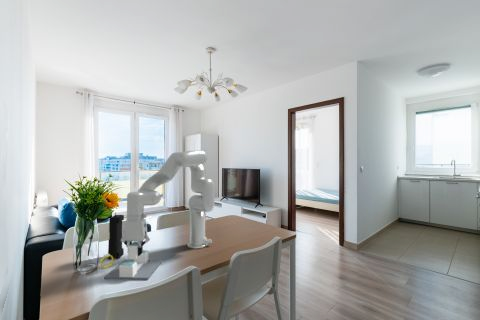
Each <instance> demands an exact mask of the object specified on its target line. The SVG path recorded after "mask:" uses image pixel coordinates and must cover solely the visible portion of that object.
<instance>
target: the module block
mask: <svg viewBox="0 0 480 320" xmlns="http://www.w3.org/2000/svg"><path fill="white" fill-rule="evenodd" d="M138 247H139V245H138V241H132V243H131V244H130V245H129V246H128V248H127V260H134V259H137V258H138V257H139V256H138Z"/></svg>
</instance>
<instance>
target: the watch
mask: <svg viewBox="0 0 480 320" xmlns="http://www.w3.org/2000/svg"><path fill="white" fill-rule="evenodd" d="M109 256H111V255H110V254H108V253H106V254H103V257H101V259H100V261H99V265H100V267H101V268H104V269H105V268H107V267H110V266H112V265H113V263H114V260H115V259H114V258H113V257H112V256H111V257H112V259H111V261H110V263H109V264H108V265H104V266H103V261H104V259H105V258H108V257H109Z"/></svg>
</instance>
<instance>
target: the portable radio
mask: <svg viewBox="0 0 480 320" xmlns="http://www.w3.org/2000/svg"><path fill="white" fill-rule="evenodd" d="M114 214H115V215H112V216H110V217H109V219H108V220H109V221H108V223H109V224H108V225H109V227H108V231H109V232H108V233H109V239H108V244H107V245H108V246H107V254H110V255H111V256H112V257H113V258H114V260H117V259H118V260H119V259H120V258H121V257H122V256H124V254H125V252H124V251H125V249H124V248H123V242H122V241H121V239H122V237H123V220H125V215H124V214H117V212H114ZM111 256H109V257H107V259H108V260H112V257H111Z"/></svg>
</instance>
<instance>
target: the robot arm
mask: <svg viewBox="0 0 480 320" xmlns="http://www.w3.org/2000/svg"><path fill="white" fill-rule="evenodd" d="M207 160H208V156H207V153H206V152H205V151H203V150H187V151H175V152H172V153H171V154H170V156H169V157H168V158H166V161H164V163H163V165H161V167H160V169H158V171H157V172H156V173H154V174H153V175H151V176H150V177H149V178H147V179H146V180H145V181H144V182H143V183H142V185H141V186H140V187H139V189H138V190H137V191H129V192H128V193H127V195H126V220H125V222H124V227H123V234H122V239H121V241H122V244H124V245H125V246H126V248H127V249H128V246H129V245H130V244H131V243H133V242H138V245H139V247H138V256H140V255H141V254H142V252H143V250H144V249H143V246H144V245H145V244H146V243H147V244H148V242H150V240H151V239H150V238H149V235H148V225H147V220H146V218H147V214H145V208H144V207H146V206H156V205H158V204H159V203H160V202H161V200H162V196H161V193H160V192H158V191H157V190H156V189H157V188H159V187H160V186H161V185H164V184H166V183H169V182H171V181H172V180H173V179H174V177H175V176H176V174H177V173H178V172H179V170H180V169H181V168H189V170H190V188H191V191H192V192H193V193H195V194H194V195H191V196H190V197H189V199H188V201H187V202H188V203H187V204H188V210H189V242H187V243H186V244H187V247H188V248H190V249H202V248H205V247H207V246H208V244H212V243H213V240H212V239H211V238H207V236H206V214H205V213H210V212H213V210H214V208H215V201H216V197H215V196H216V195H215V194H216V187H215V183H214V181H213V180H212V179H210V178H206V176H205V174H206V172H205V167H204V164H205V163H206V162H207Z"/></svg>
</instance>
